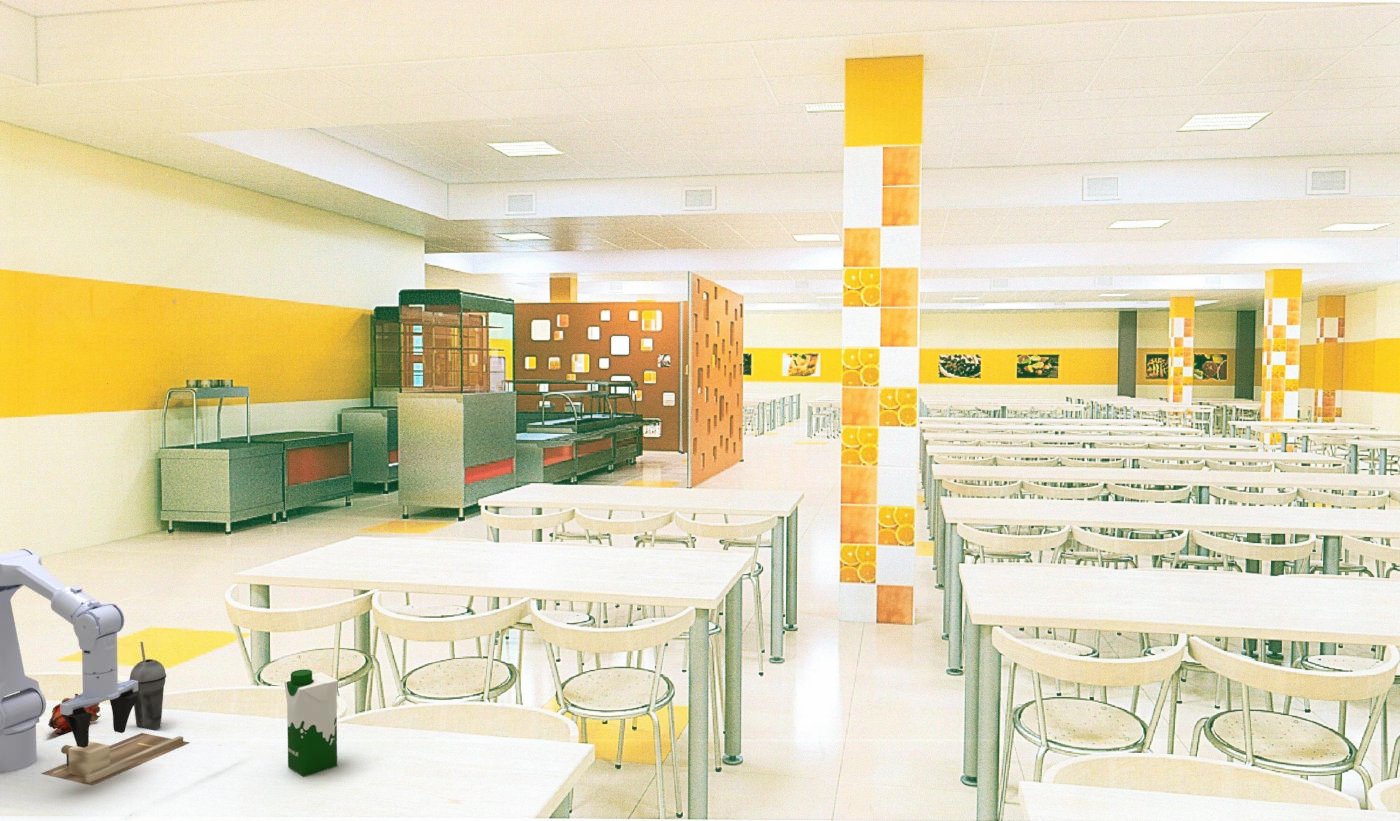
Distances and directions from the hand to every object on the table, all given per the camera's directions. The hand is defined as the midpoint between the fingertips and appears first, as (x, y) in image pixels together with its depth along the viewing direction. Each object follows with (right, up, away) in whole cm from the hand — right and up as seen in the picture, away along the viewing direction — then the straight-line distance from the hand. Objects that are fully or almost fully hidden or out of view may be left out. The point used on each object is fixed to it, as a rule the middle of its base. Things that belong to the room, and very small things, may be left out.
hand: (101, 738), depth 185 cm
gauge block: (-6, -8, +5) cm, 11 cm away
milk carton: (+36, -10, +11) cm, 39 cm away
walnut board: (-3, -9, +11) cm, 14 cm away
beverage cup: (-8, -8, +30) cm, 32 cm away
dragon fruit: (-23, -8, +28) cm, 37 cm away
